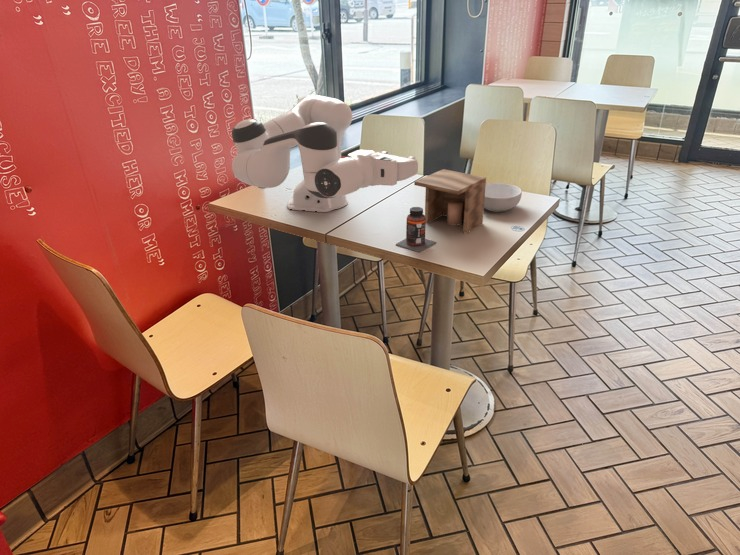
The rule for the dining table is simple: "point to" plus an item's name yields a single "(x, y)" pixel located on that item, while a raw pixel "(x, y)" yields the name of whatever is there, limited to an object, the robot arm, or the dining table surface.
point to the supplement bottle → (416, 227)
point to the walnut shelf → (454, 196)
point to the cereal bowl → (501, 196)
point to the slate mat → (416, 248)
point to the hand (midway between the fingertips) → (399, 156)
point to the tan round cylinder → (455, 212)
